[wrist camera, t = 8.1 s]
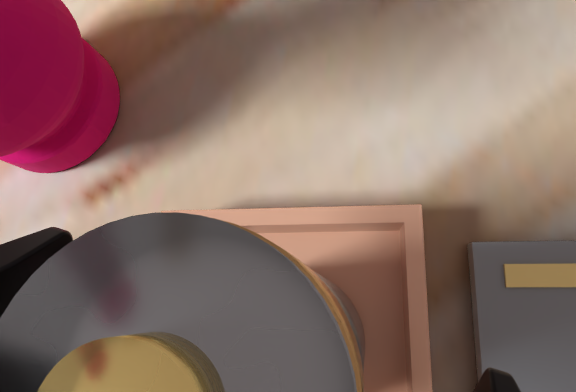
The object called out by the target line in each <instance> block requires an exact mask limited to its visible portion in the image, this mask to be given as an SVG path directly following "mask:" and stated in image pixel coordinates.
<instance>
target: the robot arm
mask: <svg viewBox="0 0 576 392" xmlns="http://www.w3.org/2000/svg"><path fill="white" fill-rule="evenodd" d="M72 241H73V238H72V235H71V234H70V232H68V231H66V230H62V229H59V228H56V227H50V228H47V229H44V230H41V231H38V232H35V233H33V234H30V235H27V236H24V237H21V238H18V239H15V240H13V241H10V242H7V243H4V244H1V245H0V318H1V316H2V315H3V313H4V312H5V310H6V308H7V307H8V305H9V304H10V302H11V301H12V299H13V298H14V296H15V295H16V293H17V292H18V291H19V290H20V289H21V287H22V286H23V285H24V284H25V282H26V281H27V280H28V279H29V278H30V276H31V275H32V274H33V273H34V272H35V271H36V270H37V269H38V268H39V267H40V266H42V265H43V264H44V263H45V262H46V261H47V260H48V259H49V258H50V257H51V256H53V255H54V254H55V253H57V252H58V251H59V250H60V249H62V248H63V247H64V246H66V245H67V244H68V243H70V242H72ZM473 392H521V391H520V389H519V387H518V385H517V383H516V382H515V380H514V378H513V377H512V375H510V374H509V373H507V372H504V371H501V370H498V369H495V368H491V367H489V368H487V369H486V370H485V371H484V373H483V375H482V376H481V378H480V380H479V382H478V384H477V385H476V387H475V389H474V391H473Z"/></svg>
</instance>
